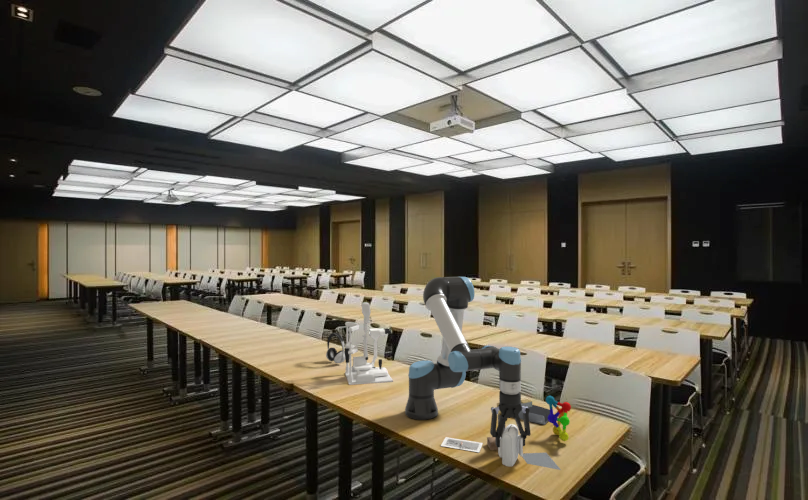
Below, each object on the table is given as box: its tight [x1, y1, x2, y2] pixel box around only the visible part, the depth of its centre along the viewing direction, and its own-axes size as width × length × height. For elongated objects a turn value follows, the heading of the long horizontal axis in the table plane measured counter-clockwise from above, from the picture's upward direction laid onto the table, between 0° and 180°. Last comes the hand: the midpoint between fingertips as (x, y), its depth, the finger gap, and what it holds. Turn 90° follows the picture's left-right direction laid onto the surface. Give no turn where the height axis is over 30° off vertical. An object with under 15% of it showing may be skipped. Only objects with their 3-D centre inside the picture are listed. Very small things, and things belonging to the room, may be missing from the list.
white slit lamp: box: [344, 301, 394, 386], centre depth 246 cm, size 24×27×45 cm
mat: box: [522, 452, 562, 471], centre depth 145 cm, size 10×14×1 cm
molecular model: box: [545, 395, 572, 442], centre depth 165 cm, size 15×10×15 cm, turn 5°
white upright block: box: [501, 423, 519, 467], centre depth 148 cm, size 10×4×12 cm, turn 152°
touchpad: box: [440, 436, 483, 453], centre depth 159 cm, size 8×15×2 cm, turn 69°
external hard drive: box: [518, 404, 550, 425], centre depth 188 cm, size 12×18×4 cm
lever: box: [496, 398, 533, 416], centre depth 160 cm, size 16×4×4 cm, turn 114°
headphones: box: [325, 332, 346, 364], centre depth 280 cm, size 19×8×20 cm, turn 44°
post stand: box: [486, 414, 506, 451], centre depth 158 cm, size 12×5×13 cm, turn 94°
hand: (510, 455), depth 147 cm, fingers closed on white upright block, 7 cm apart
